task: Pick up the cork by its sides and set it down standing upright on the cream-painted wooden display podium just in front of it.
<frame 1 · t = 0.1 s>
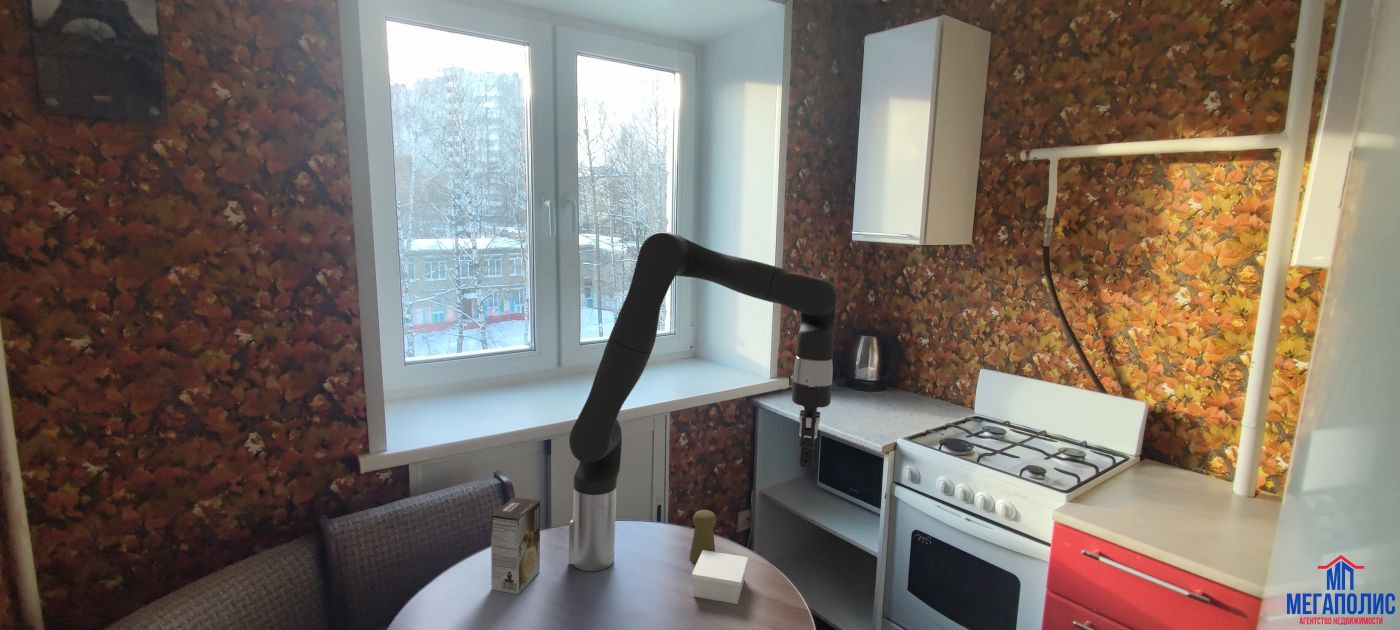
hand: (806, 459, 122), 29 cm above the table, tool pointing down, fingers open, 8 cm apart
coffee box: (516, 581, 126), on the table
podium: (719, 588, 127), on the table
cork: (702, 559, 139), on the table
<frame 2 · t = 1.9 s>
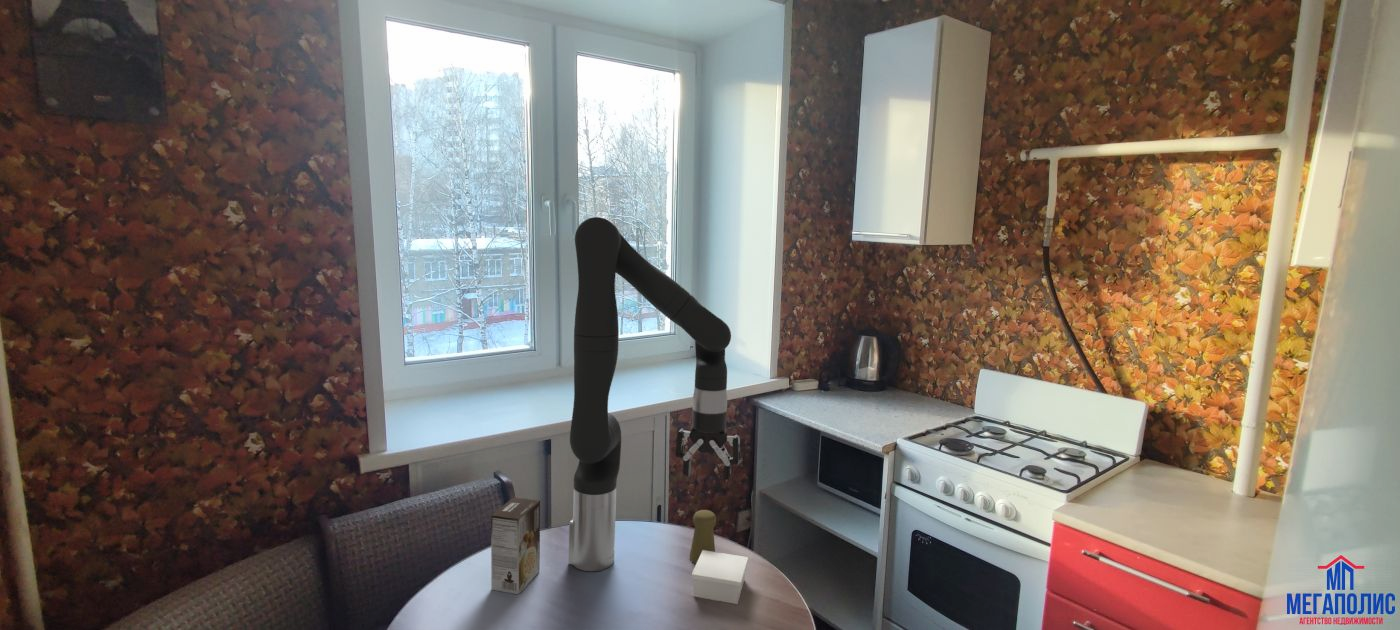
hand: (706, 478, 136), 19 cm above the table, tool pointing down, fingers open, 8 cm apart
nothing on the table moved.
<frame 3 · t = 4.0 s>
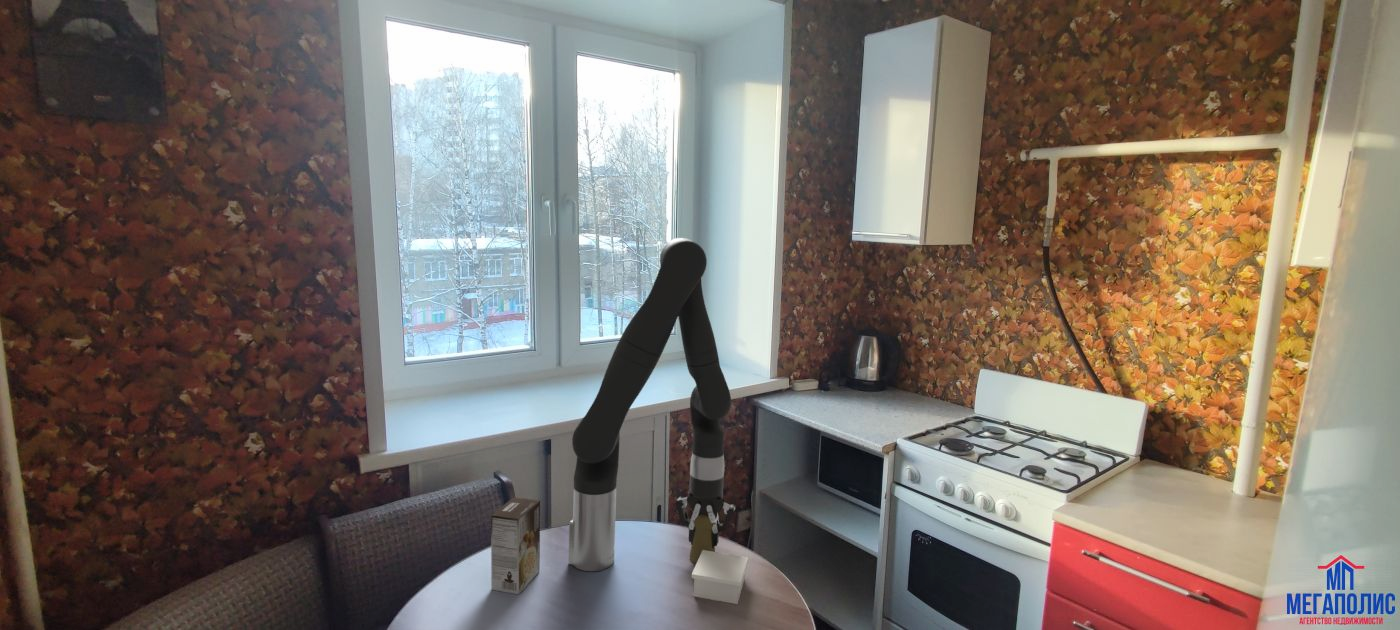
hand: (703, 544, 138), 3 cm above the table, tool pointing down, fingers closed on cork, 4 cm apart
cork: (702, 559, 139), on the table, touching gripper
everything else where it was.
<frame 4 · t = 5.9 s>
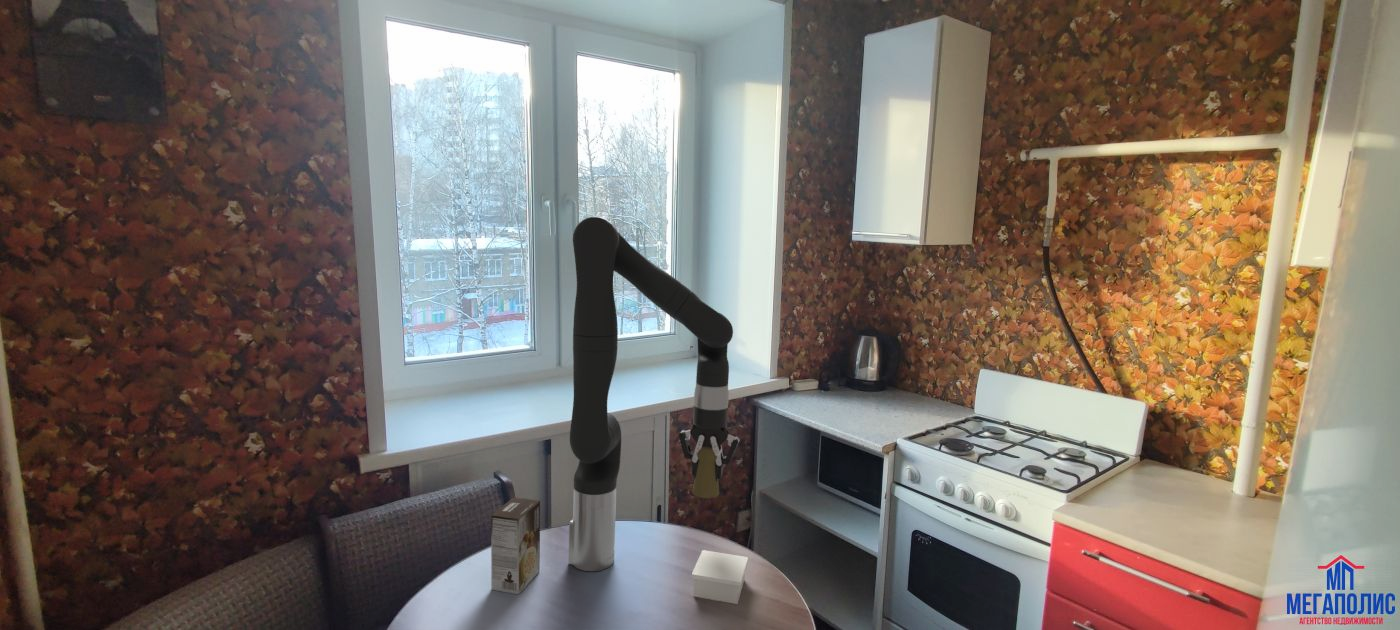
hand: (706, 478, 136), 19 cm above the table, tool pointing down, fingers closed on cork, 4 cm apart
cork: (705, 493, 136), point 16 cm above the table, touching gripper
everything else where it was.
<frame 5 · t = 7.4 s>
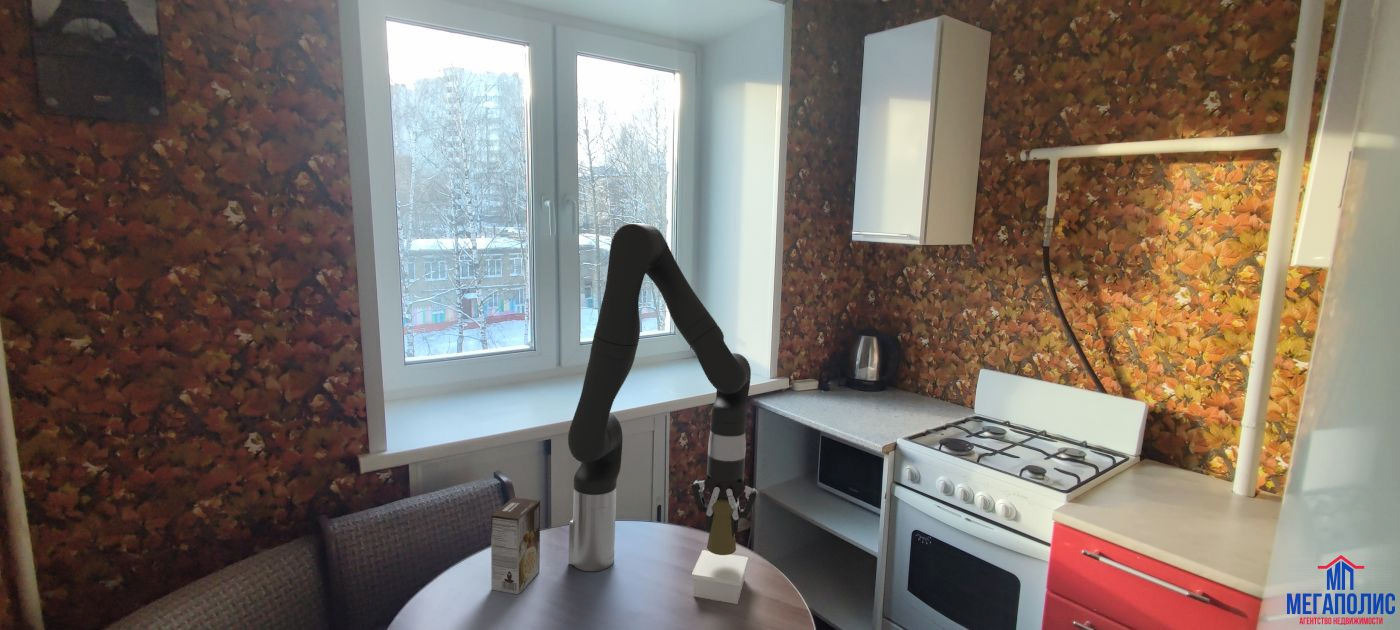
hand: (722, 532, 126), 12 cm above the table, tool pointing down, fingers closed on cork, 4 cm apart
cork: (721, 548, 126), point 9 cm above the table, touching gripper
everything else where it was.
when the fingers open (10 cm above the table, at t = 8.3 s): cork drops 1 cm, resting on podium.
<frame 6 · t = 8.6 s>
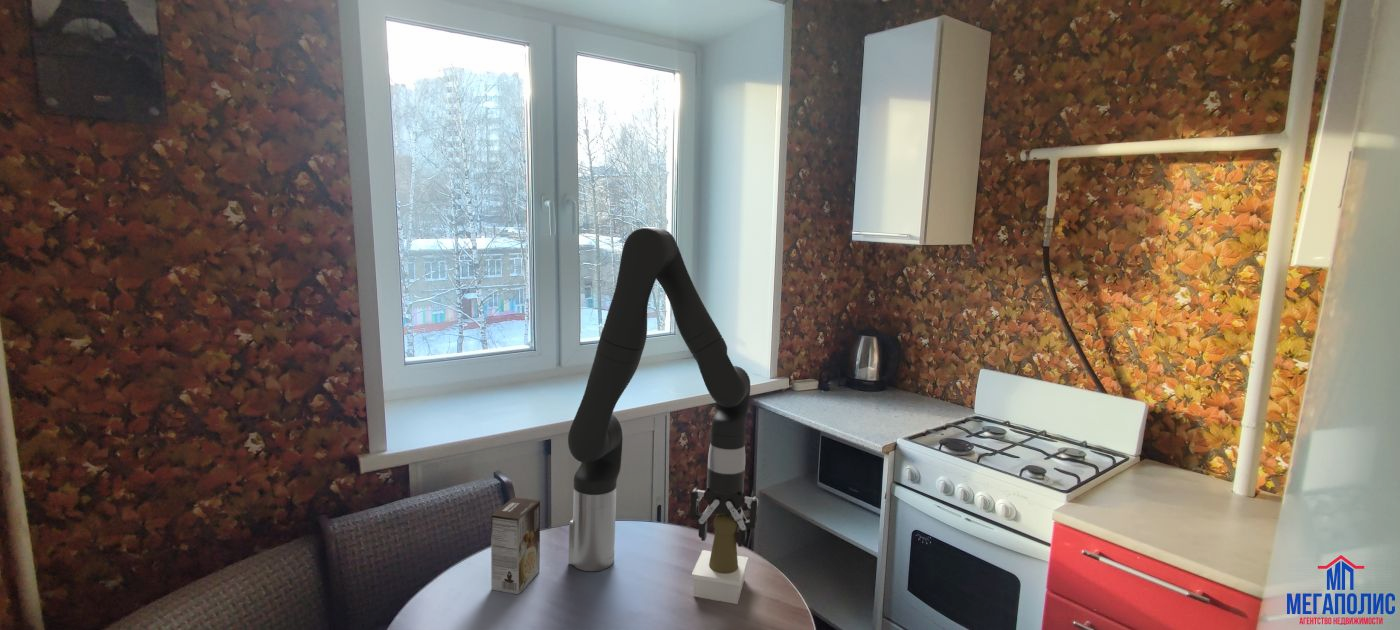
hand: (722, 542, 126), 10 cm above the table, tool pointing down, fingers open, 7 cm apart
cork: (723, 566, 126), point 5 cm above the table, touching podium
everything else where it was.
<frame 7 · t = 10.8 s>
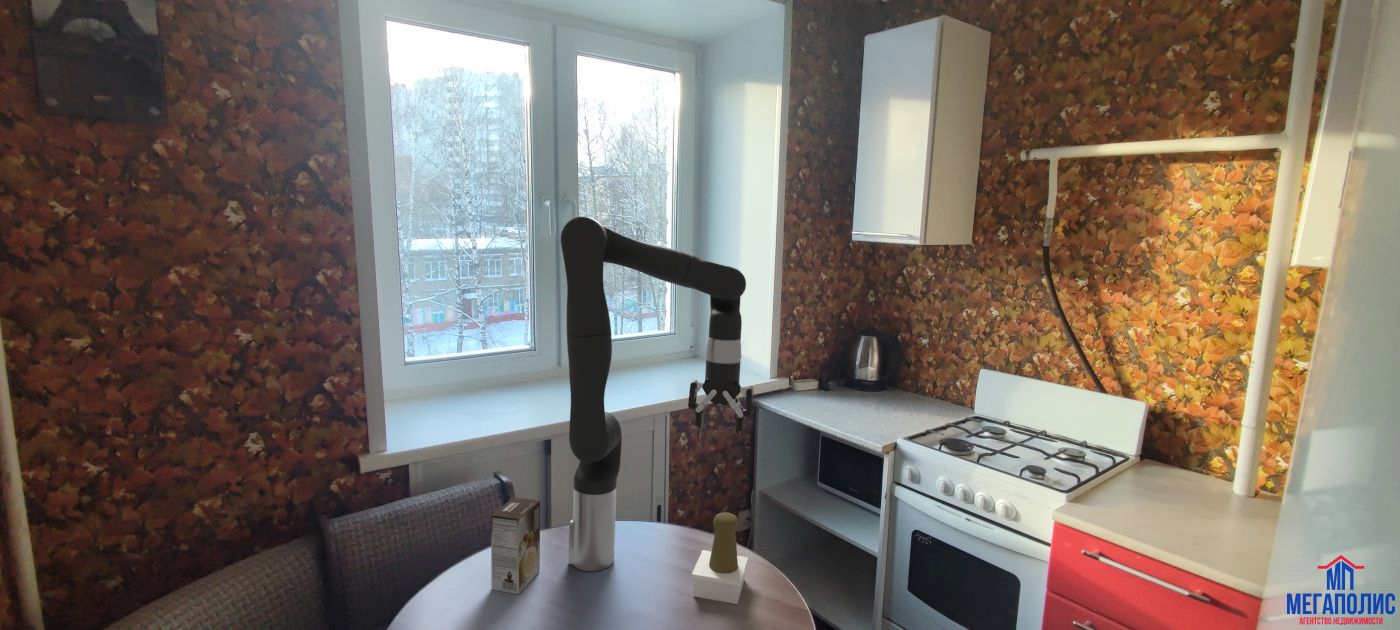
hand: (719, 430, 135), 30 cm above the table, tool pointing down, fingers open, 8 cm apart
nothing on the table moved.
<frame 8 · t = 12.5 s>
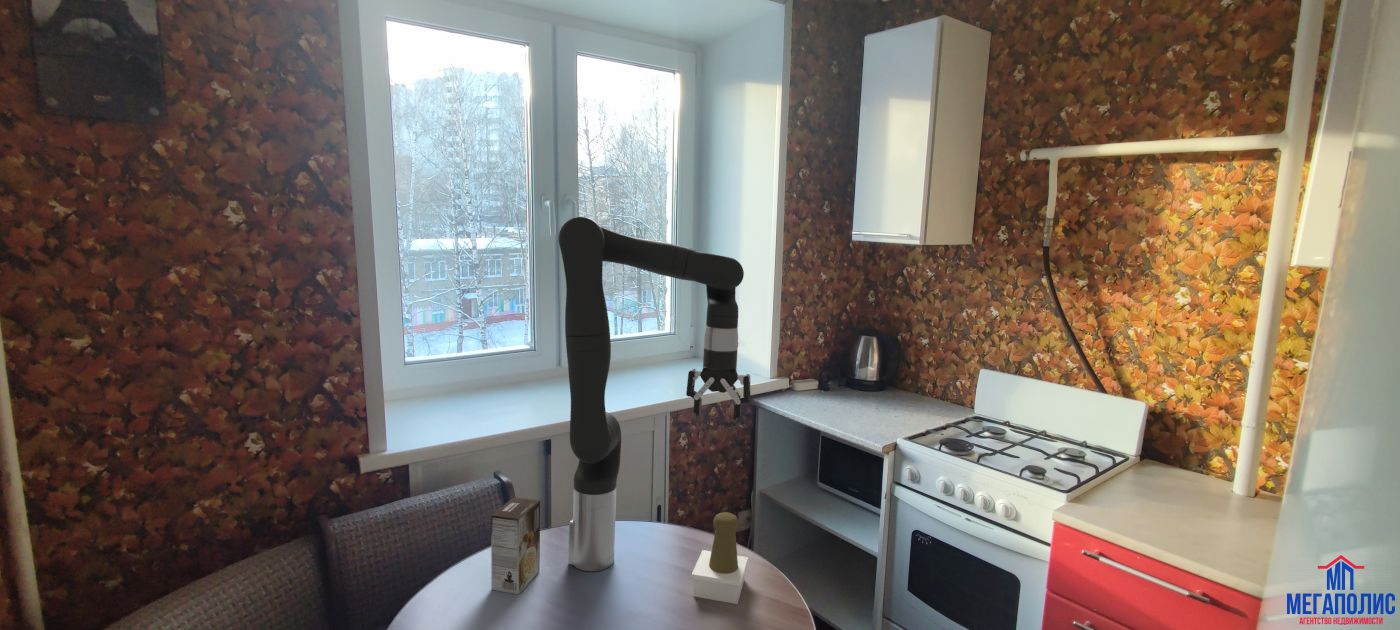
hand: (717, 417, 138), 32 cm above the table, tool pointing down, fingers open, 8 cm apart
nothing on the table moved.
at the end: cork 0.6 cm off-centre on the podium, point 4.8 cm above the podium's base; cork tilted 0°; the gripper is holding nothing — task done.
